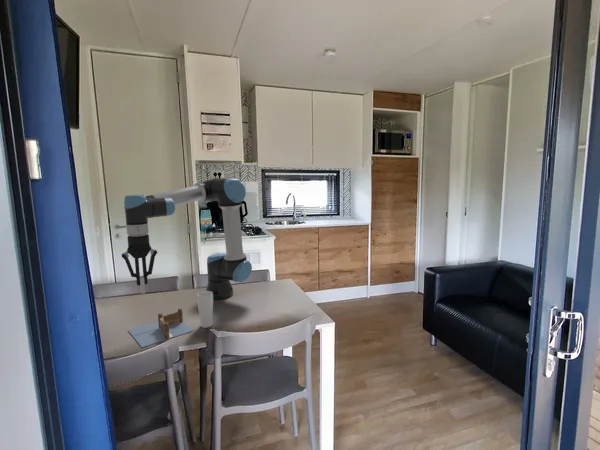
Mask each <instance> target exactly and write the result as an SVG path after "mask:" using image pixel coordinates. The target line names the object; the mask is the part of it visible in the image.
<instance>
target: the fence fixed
mask: <svg viewBox="0 0 600 450" xmlns="http://www.w3.org/2000/svg"><path fill="white" fill-rule="evenodd" d="M163 320H164V321H165V323H169V326H170V325H173V324H176V323H179V322H184V316H183V308H181V307H180V308H177V311H175V312H171V313H167V314H165V315H164V314H163Z"/></svg>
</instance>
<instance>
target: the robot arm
mask: <svg viewBox="0 0 600 450" xmlns="http://www.w3.org/2000/svg"><path fill="white" fill-rule="evenodd" d="M246 192H247V191H246V187H245V185H244V183H243V182H242V181H241V180H239V179H237V178H232V177H230V178H228V177H227V178H225V177H224V178H211V179H207V180H204V181H200V182H196V183H194V184H193V185H191V186H186V187H182V188H177V189H173V190H167V191H163V192H159V193H154V194H150V195H145V194H127V195H125V196H124V203H123V204H124V207H123V208H124V212H125V213H124V215H125V223H126V224H125V226H126V234H127V235H128V236H127V244H128V245H127V249H126V251H125V252H122V253H121V258H122V259H123V260H125V263H126V266H127V269H128V271H129V274H130V276H131V277H132V278H136V285H137V286H139V288H140V289H139V290H140V294H146V286H145V285H148V276H150V275H152V273H153V268H154V264H155V257H156V255H157V254H158V250H157V249H154V248H152V246H151V245H150V235H149V224H148V223H149V222H148V219H153V218H159V217H169V216H172V215H173V214H175V210H176V207H178V206H181V205H186V204H189V203H193V202H197V201H198V202H201V203H202V202H206V201H207V202H208V201H209V202H211V201H215V202H217V203H218V207H219V208H220V209H221V213H222V220H223V232H224V242H225V252H223V253H222V252H220V253H216V254H215V253H214V254H210V255H208V256H207V258H206V269H207V284H206V285H207V286H206V288H205V291H211V292H213V300H223V299H227V298H230V297H232V296H233V294H234V288H233V286H232V283H231V281H232V282H234V283H235V282H236V283H237V282H238V283H244V282H246V281H247V280H248V279H249V278H250V275H251V274H252V271H253V266H252V263H251V262H250V261H249V260H247V254H246V253H244V250H243V249H244V247H243V238H242V237H243V236H242V227H241V226H242V225H241V216H240V215H241V214H240V208H241V206H242V203H243V201H244V199H245V197H246V194H247V193H246ZM149 253H150V257H149V258H150V259H149V263H148V268H147V258H146V257H147V256H148V255H149ZM129 256H131V257H132V258H133V259H134V266H135V268H134V269H135V272H134V270H133V267H132V264H131V262H130V259H129ZM139 259H141V262H142V263H141V264H142V265H141V266H142V275H140V262H139V261H140V260H139ZM147 269H148V270H147Z"/></svg>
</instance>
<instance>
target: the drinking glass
mask: <svg viewBox="0 0 600 450" xmlns="http://www.w3.org/2000/svg"><path fill="white" fill-rule="evenodd" d="M196 301H197V309H198V315H199V316H198V317H199V324H200V327H201V328H203V329H204V328H205V329H207V328H210V327H212V326H213V323H214V322H213V321H214V319H213V317H214V299H213V292H211V291H206V290H203V291H200V292H198V293H197V294H196Z"/></svg>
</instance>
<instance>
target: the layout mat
mask: <svg viewBox="0 0 600 450" xmlns="http://www.w3.org/2000/svg"><path fill="white" fill-rule="evenodd" d="M127 331H128V332H129V333H130V335H131V336H132V338H133V339H134V340H135V342H137V344H138V345H139V346H140V347H141V349H143V348H146V347H149V346H152V345H155V344H159V343H161V342H164V341H167V339H168V340H170V339H169V338H171V339H173V338H172V337H174V338H177V337H179V336H182V335H185V334H189V333H193V332H194V329H192V327H191V326H189V325H188V324H187V323H186V322H184V321H183V322H179V323H176V324H173V325H170V326H169V338H167V339H166V338H165V335H164V334H163V332H162V330H161V328H159V322H158V321H156V322H152V323H149V324H145V325H143V326H139V327H136V328H135V327H134V328H131V329H128V330H127Z"/></svg>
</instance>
